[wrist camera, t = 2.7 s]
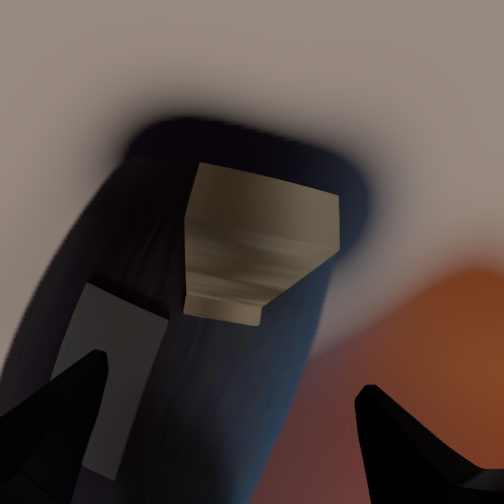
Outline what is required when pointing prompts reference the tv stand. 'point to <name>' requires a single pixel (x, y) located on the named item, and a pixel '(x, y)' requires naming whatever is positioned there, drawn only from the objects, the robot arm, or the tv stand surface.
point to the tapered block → (252, 241)
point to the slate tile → (113, 367)
